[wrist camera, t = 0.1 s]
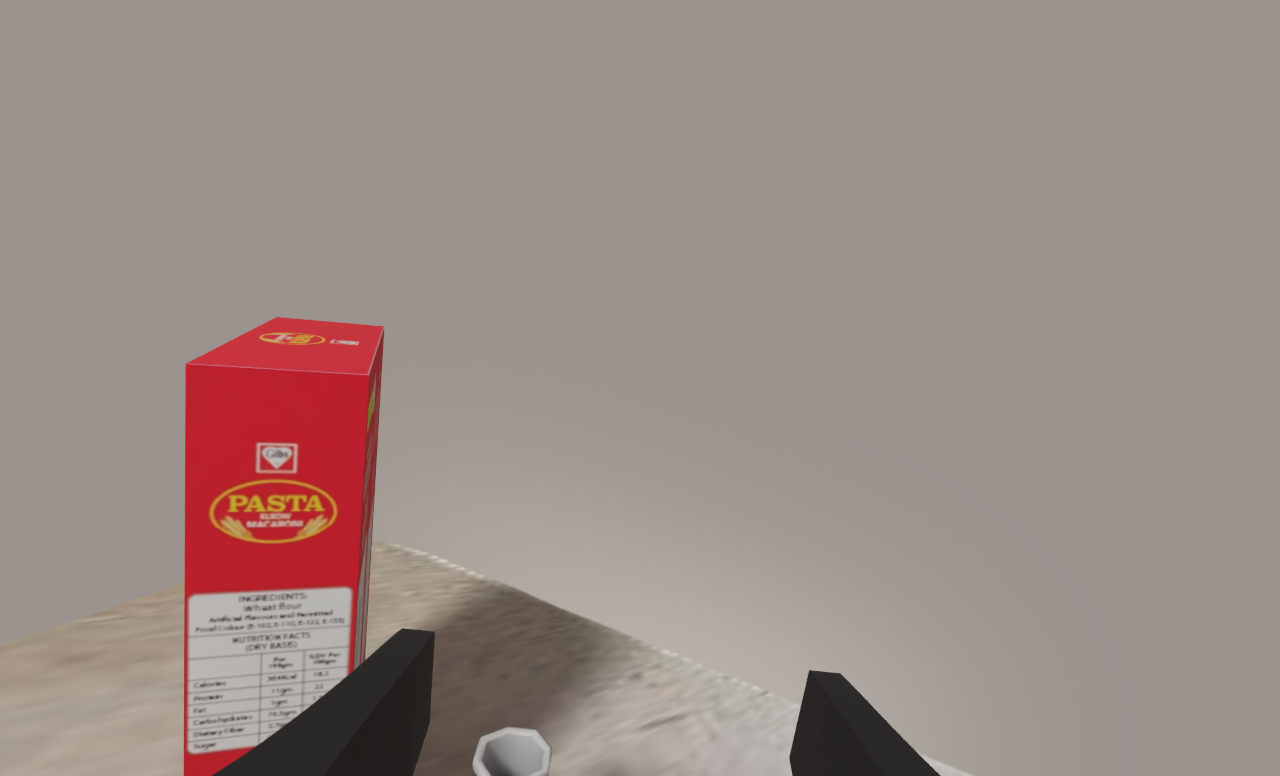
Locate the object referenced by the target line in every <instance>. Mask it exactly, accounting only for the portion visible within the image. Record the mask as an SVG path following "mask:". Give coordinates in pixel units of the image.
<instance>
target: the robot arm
mask: <svg viewBox="0 0 1280 776" xmlns="http://www.w3.org/2000/svg"><path fill="white" fill-rule="evenodd" d="M434 637H435V632H431V631H422V630H412V629H401V630H400V631H398V632H397V633H396V634H394V635H393V636H392V637H391V638H390V639H389V640H388V641H386V642H385V643H384V644H383V645H382V646H381V647H380V648H379V649H377V650H376V651H375V652H374V653H373V654H372V655H371V656H369V657H368V658H367V659H366V660H365V661H364V662H363V663H361V664H360V665H359V666H358V667H357V668H356V669H354V670H353V671H352V672H351V673H350V674H349V675H347V676H346V677H345V678H344V679H343V680H341V681H340V682H339V683H338V684H337V685H335V686H334V687H333V688H332V689H331V690H329V691H328V692H327V693H326V694H324V695H323V696H322V697H321V698H320V699H318V700H317V701H316V702H315V703H313V704H312V705H311V706H310V707H308V708H307V709H306V710H304V711H303V712H302V713H300V714H299V715H298V716H296V717H295V718H294V719H292V720H291V721H290V722H288V723H287V724H286V725H284V726H283V727H282V728H280V729H279V730H278V731H276V732H275V733H274V734H272V735H271V736H270V737H268V738H267V739H266V740H264V741H263V742H261V743H260V744H259V745H257V746H256V747H254V748H253V749H251V750H250V751H248V752H247V753H246V754H244V755H243V756H241V757H240V758H238V759H237V760H235V761H233V762H232V763H230V764H229V765H227V766H226V767H224V768H223V769H221V770H219V771H218V772H216V773H215V774H213V775H212V776H412V775H413V772H414V769H415V766H416V763H417V760H418V757H419V754H420V751H421V748H422V745H423V742H424V739H425V735H426V732H427V729H428V726H429V722H430V705H431V688H432V671H433V654H434ZM789 758H790V764H791V769H792V775H793V776H940V775H939V774H938V773H937V772H936V771H935V770H934V769H933V768H932V767H931V766H930V765H929V764H928V763H927V762H926V761H925V760H924V759H923V758H922V757H921V756H920V755H919V754H918V753H917V752H916V751H915V750H914V749H913V748H912V747H911V746H910V745H909V744H908V743H907V742H906V741H905V740H904V739H903V738H902V737H901V736H900V735H899V734H898V733H897V732H896V731H895V730H894V729H893V728H892V727H891V726H890V725H889V724H888V722H887V721H886V720H885V719H884V718H883V717H882V716H881V715H880V714H879V713H878V712H877V711H876V710H875V709H874V708H873V707H872V706H871V705H870V703H868V701H867V700H866V699H865V698H864V697H863V696H862V695H861V694H860V693H859V692H858V691H857V690H856V689H855V688H854V687H853V686H852V685H851V684H850V683H849V682H848V681H847V680H846V679H845V678H844V677H843V676H842V675H841V674H840V673H830V672H820V671H811V670H809V674H808V678H807V683H806V687H805V691H804V696H803V700H802V705H801V709H800V713H799V718H798V722H797V726H796V731H795V735H794V740H793V744H792V748H791V753H790V757H789Z"/></svg>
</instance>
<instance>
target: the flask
mask: <svg viewBox="0 0 1280 776" xmlns="http://www.w3.org/2000/svg"><path fill="white" fill-rule="evenodd" d="M551 755H552V747H551V746H550V745H549V743H548V742H547V741H546V740H545V738H544V737H543V736H542V735H541V733H540V732H539V731H538V730H537V729H531V728H520V727H509V726H507V727H505V728H502V729H500V730H497V731H494V732H492V733H489V734H487V735H484V736H482V737H480V739H479V742H478V746H477V749H476V752H475V756H474V759H473V764H472V766H473V770H474V772H475V774H476V775H477V776H549V769H550V762H551Z"/></svg>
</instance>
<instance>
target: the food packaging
mask: <svg viewBox="0 0 1280 776" xmlns="http://www.w3.org/2000/svg"><path fill="white" fill-rule="evenodd" d="M383 338H384V327H383V326H372V325H359V324H348V323H336V322H325V321H314V320H303V319H292V318H279V317H276V318H274V319H272V320H270V321H268V322H266V323H265V324H263V325H261V326H259V327H257V328H255V329H253V330H251V331H249V332H247V333H245V334H243V335H241V336H239V337H237V338H235V339H233V340H231V341H229V342H227V343H226V344H224V345H222V346H220V347H218V348H216V349H214V350H212V351H210V352H208V353H206V354H204V355H202V356H200V357H198V358H196V359H194V360H192V361H190V362H188V363H187V364H186V413H185V414H186V417H185V418H186V419H185V422H186V423H185V425H186V426H185V427H186V428H185V630H184V776H212V775H213V774H215V773H216V772H218V771H219V770H221V769H223V768H224V767H226V766H227V765H229V764H230V763H232V762H233V761H235V760H237V759H238V758H240V757H241V756H243V755H244V754H246V753H247V752H248V751H250V750H251V749H253V748H254V747H256V746H257V745H259V744H260V743H261V742H263V741H264V740H266V739H267V738H268V737H270V736H271V735H272V734H274V733H275V732H276V731H278V730H279V729H280V728H282V727H283V726H284V725H286V724H287V723H288V722H290V721H291V720H292V719H294V718H295V717H296V716H298V715H299V714H300V713H302V712H303V711H304V710H306V709H307V708H308V707H310V706H311V705H312V704H313V703H315V702H316V701H317V700H318V699H320V698H321V697H322V696H323V695H324V694H326V693H327V692H328V691H329V690H331V689H332V688H333V687H334V686H335V685H337V684H338V683H339V682H340V681H341V680H343V679H344V678H345V677H346V676H347V675H349V674H350V673H351V672H352V671H353V670H354V669H356V668H357V667H358V666H359V665H360V664H361V663H363V662H364V661H365V648H366V631H367V613H368V596H369V579H370V562H371V545H372V528H373V511H374V493H375V475H376V459H377V442H378V424H379V408H380V390H381V372H382V356H383Z"/></svg>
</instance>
